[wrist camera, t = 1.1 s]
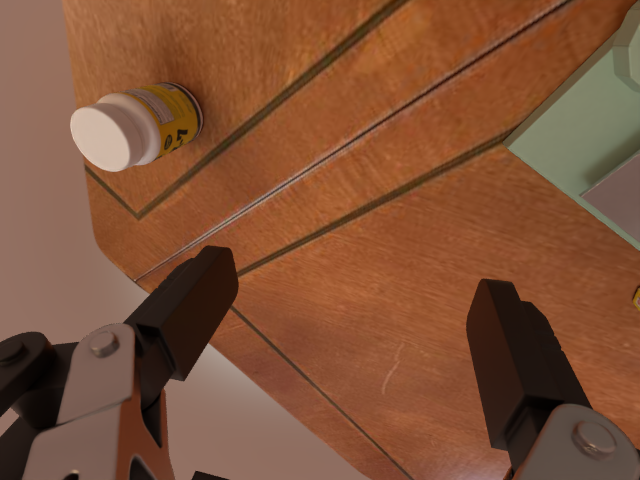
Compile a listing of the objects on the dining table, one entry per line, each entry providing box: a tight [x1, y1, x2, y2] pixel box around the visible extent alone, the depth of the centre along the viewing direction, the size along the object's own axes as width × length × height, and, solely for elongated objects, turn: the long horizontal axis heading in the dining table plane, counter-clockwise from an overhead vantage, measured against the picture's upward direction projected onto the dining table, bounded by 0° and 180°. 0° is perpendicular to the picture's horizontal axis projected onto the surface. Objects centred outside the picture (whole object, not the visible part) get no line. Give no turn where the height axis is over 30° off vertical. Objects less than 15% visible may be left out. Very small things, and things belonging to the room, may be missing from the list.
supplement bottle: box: [70, 82, 203, 172], centre depth 23 cm, size 5×5×8 cm
